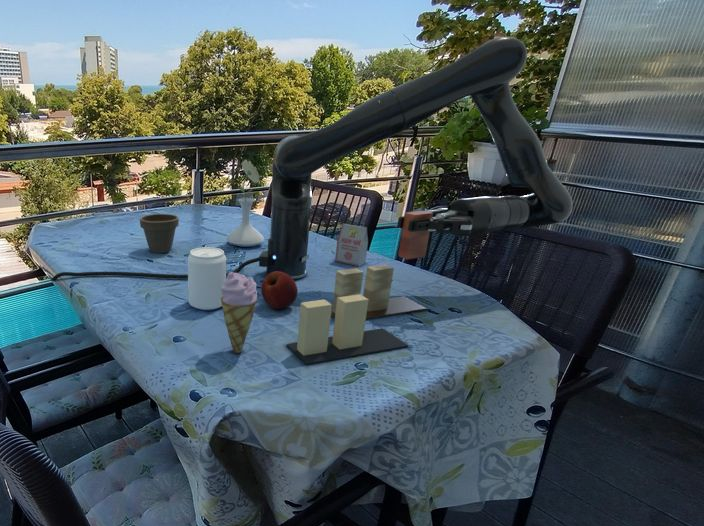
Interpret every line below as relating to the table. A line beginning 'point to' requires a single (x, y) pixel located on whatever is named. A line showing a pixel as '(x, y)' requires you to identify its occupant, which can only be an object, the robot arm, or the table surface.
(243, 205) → the flower in vase
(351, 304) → the front word
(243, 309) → the ice cream cone
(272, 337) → the table surface
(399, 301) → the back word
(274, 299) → the apple
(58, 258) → the table surface
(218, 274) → the beverage can
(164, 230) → the flower pot
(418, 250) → the orange rectangular block
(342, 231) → the white tea box
